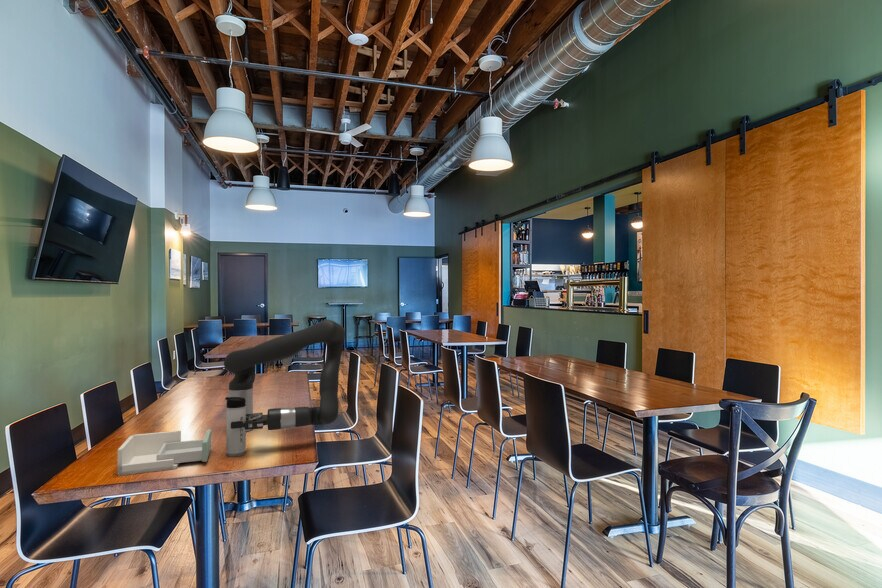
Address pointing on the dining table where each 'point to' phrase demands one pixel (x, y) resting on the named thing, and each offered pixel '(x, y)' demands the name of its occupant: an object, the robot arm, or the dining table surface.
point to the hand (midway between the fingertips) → (231, 423)
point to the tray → (186, 450)
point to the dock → (145, 453)
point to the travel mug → (237, 435)
